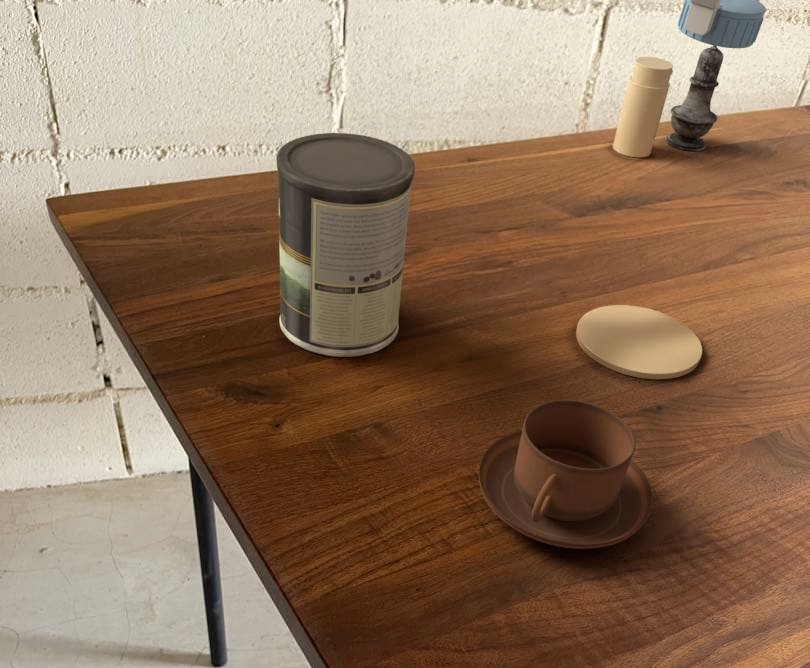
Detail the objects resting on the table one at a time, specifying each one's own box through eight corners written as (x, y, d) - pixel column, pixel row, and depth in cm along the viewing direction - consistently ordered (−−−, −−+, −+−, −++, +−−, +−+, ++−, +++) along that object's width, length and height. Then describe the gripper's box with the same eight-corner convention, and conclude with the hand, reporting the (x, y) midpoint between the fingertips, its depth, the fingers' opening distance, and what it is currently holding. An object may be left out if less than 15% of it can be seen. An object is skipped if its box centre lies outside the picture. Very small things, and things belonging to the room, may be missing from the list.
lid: (729, 54, 63) (742, 18, 62) (662, 27, 66) (673, -8, 64) (767, 41, 67) (780, 7, 65) (702, 16, 69) (713, -17, 67)
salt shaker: (655, 142, 113) (684, 38, 104) (672, 130, 116) (702, 29, 108) (698, 156, 111) (731, 51, 102) (714, 143, 114) (748, 41, 106)
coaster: (720, 344, 79) (723, 338, 79) (665, 396, 73) (667, 389, 72) (613, 297, 83) (615, 291, 83) (552, 342, 77) (553, 335, 76)
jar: (656, 150, 111) (681, 63, 104) (641, 160, 108) (665, 72, 101) (621, 138, 113) (643, 53, 106) (606, 149, 110) (627, 61, 103)
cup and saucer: (646, 580, 57) (675, 510, 53) (464, 545, 58) (478, 474, 54) (643, 464, 66) (668, 396, 62) (484, 435, 67) (498, 366, 62)
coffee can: (255, 333, 74) (249, 163, 64) (317, 282, 81) (320, 121, 71) (364, 372, 71) (375, 201, 61) (419, 316, 78) (437, 154, 68)
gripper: (807, -226, 63) (737, -6, 73) (679, -230, 51) (615, 34, 61) (894, -211, 61) (810, 15, 71) (781, -212, 49) (698, 61, 58)
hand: (719, 24), depth 66 cm, fingers closed on lid, 5 cm apart
